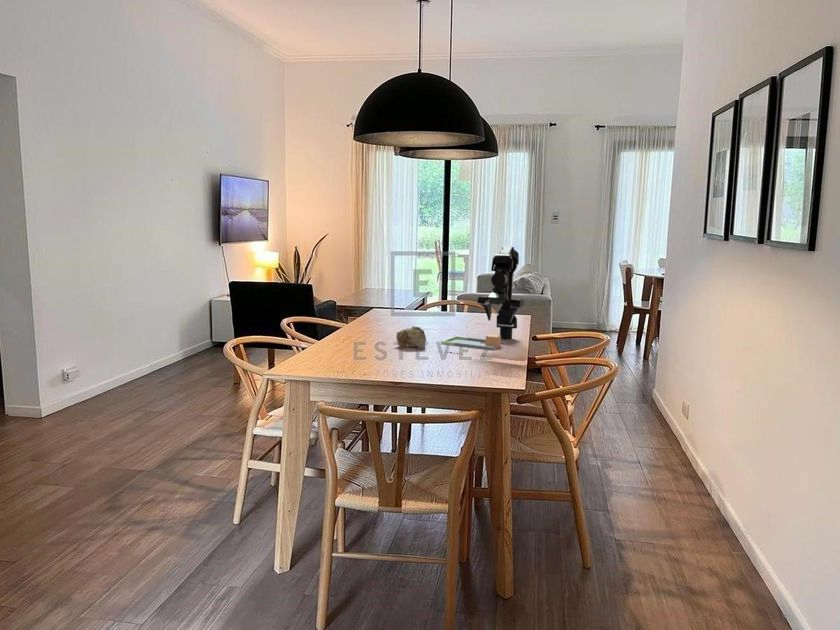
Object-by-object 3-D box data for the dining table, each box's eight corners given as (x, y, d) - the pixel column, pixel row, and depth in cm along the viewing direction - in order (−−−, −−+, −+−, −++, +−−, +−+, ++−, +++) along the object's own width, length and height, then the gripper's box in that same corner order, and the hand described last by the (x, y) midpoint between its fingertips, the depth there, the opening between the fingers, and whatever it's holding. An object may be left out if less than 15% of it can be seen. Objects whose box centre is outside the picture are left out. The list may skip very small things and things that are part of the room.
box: (454, 341, 283) (454, 335, 282) (505, 347, 272) (505, 341, 272) (440, 347, 270) (440, 341, 269) (493, 353, 259) (493, 347, 259)
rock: (430, 343, 270) (423, 322, 269) (426, 348, 264) (419, 326, 263) (405, 349, 275) (397, 328, 273) (400, 354, 269) (393, 333, 267)
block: (489, 344, 270) (489, 334, 269) (500, 345, 268) (500, 335, 267) (485, 346, 266) (485, 336, 265) (496, 347, 263) (496, 337, 263)
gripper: (472, 284, 256) (471, 322, 259) (516, 288, 248) (514, 327, 250) (483, 282, 266) (481, 318, 269) (525, 285, 257) (523, 323, 260)
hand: (499, 321), depth 261 cm, fingers open, 9 cm apart
